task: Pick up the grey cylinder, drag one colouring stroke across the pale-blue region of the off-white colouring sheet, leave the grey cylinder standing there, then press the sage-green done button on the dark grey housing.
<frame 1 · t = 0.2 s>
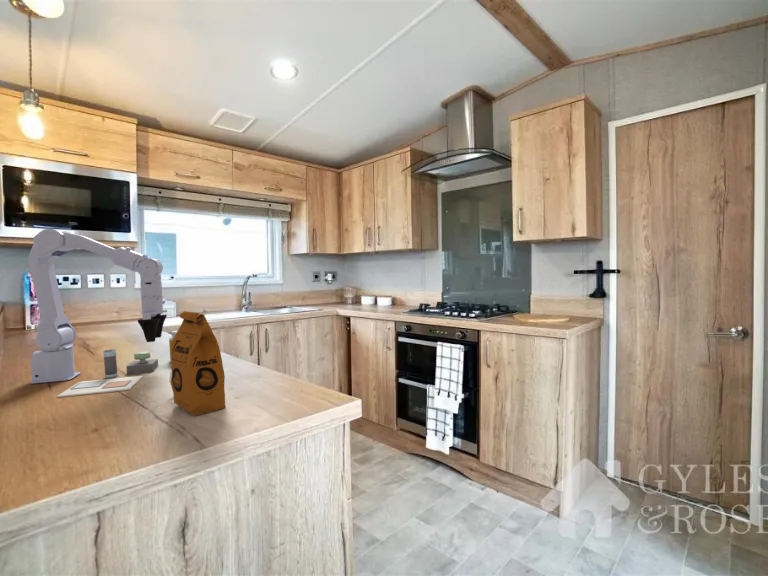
hand: (154, 339, 123), 10 cm above the counter, tool pointing down, fingers open, 7 cm apart
cup: (191, 391, 102), on the counter
colouring sheet: (103, 386, 108), on the counter
grey cylinder: (111, 376, 117), on the counter
coffee package: (200, 408, 90), on the counter
button housing: (143, 369, 124), on the counter
done button: (142, 359, 124), point 3 cm above the counter, slide at 0.0 cm
supplement bottle: (179, 360, 137), on the counter
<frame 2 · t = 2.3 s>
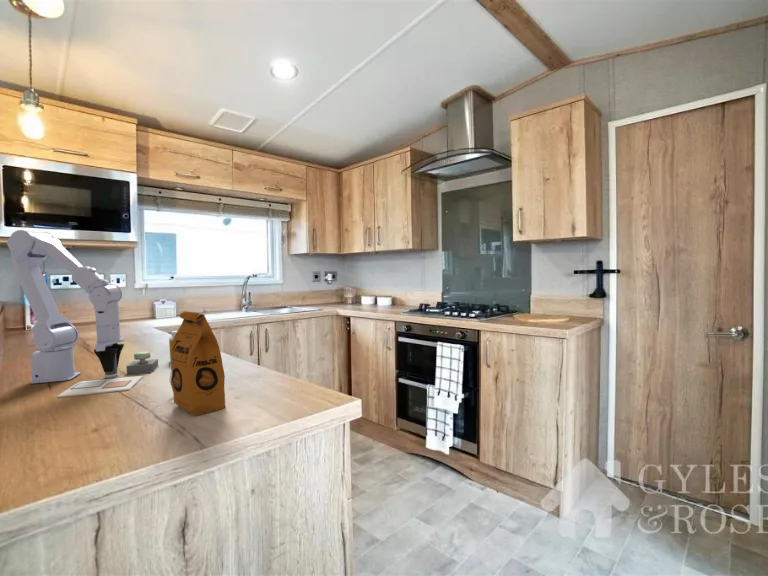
hand: (110, 370, 117), 2 cm above the counter, tool pointing down, fingers closed on grey cylinder, 3 cm apart
grey cylinder: (111, 376, 117), on the counter, touching gripper
everything else where it was.
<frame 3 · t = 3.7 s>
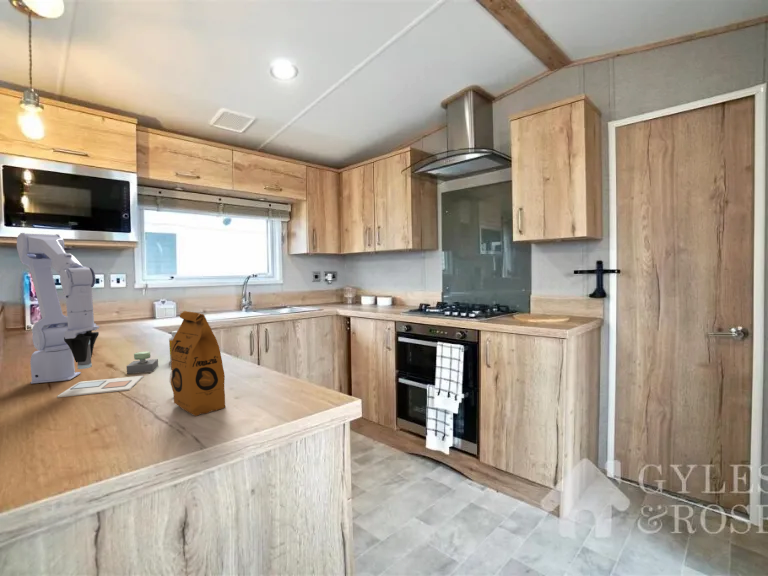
hand: (83, 360, 107), 7 cm above the counter, tool pointing down, fingers closed on grey cylinder, 3 cm apart
grey cylinder: (84, 367, 108), point 5 cm above the counter, touching gripper
everything else where it was.
when the fingers open (3 cm above the counter, at t = 5.4 s): grey cylinder stays where it is, resting on colouring sheet.
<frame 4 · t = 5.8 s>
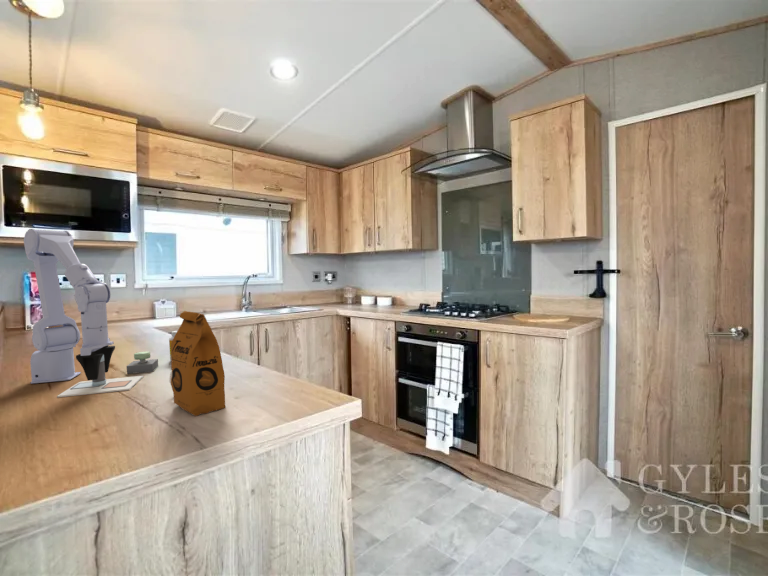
hand: (98, 376, 108), 3 cm above the counter, tool pointing down, fingers open, 7 cm apart
grey cylinder: (99, 384, 108), point 1 cm above the counter, touching colouring sheet
everything else where it was.
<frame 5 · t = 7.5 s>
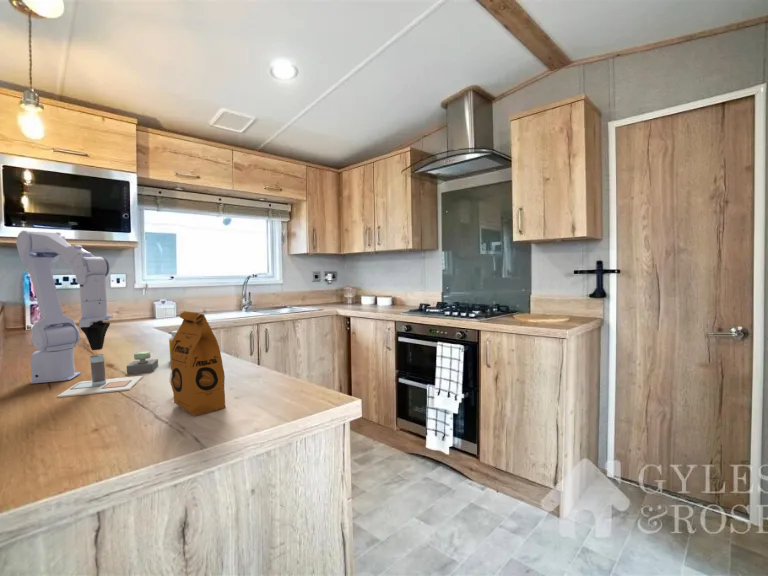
hand: (97, 349, 108), 10 cm above the counter, tool pointing down, fingers closed
nothing on the counter moved.
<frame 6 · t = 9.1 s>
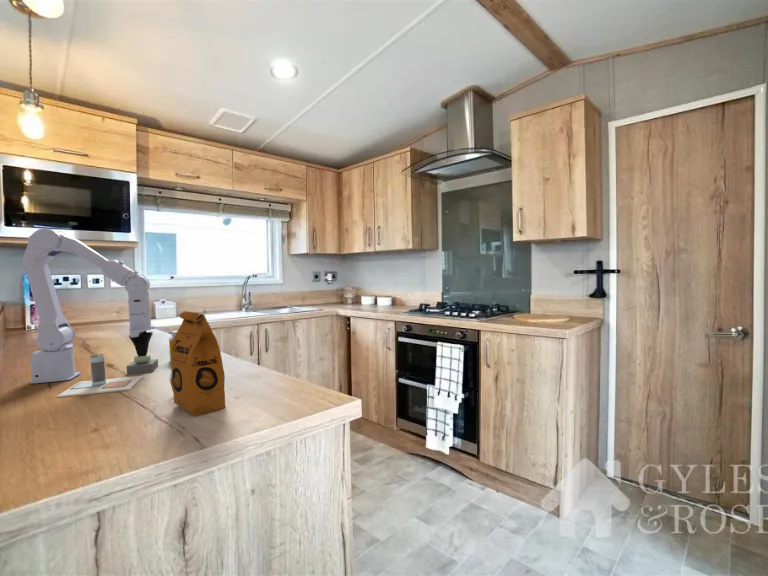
hand: (142, 355, 124), 4 cm above the counter, tool pointing down, fingers closed, pressing on done button
done button: (142, 362, 124), point 3 cm above the counter, slide at 0.9 cm, touching gripper
everything else where it was.
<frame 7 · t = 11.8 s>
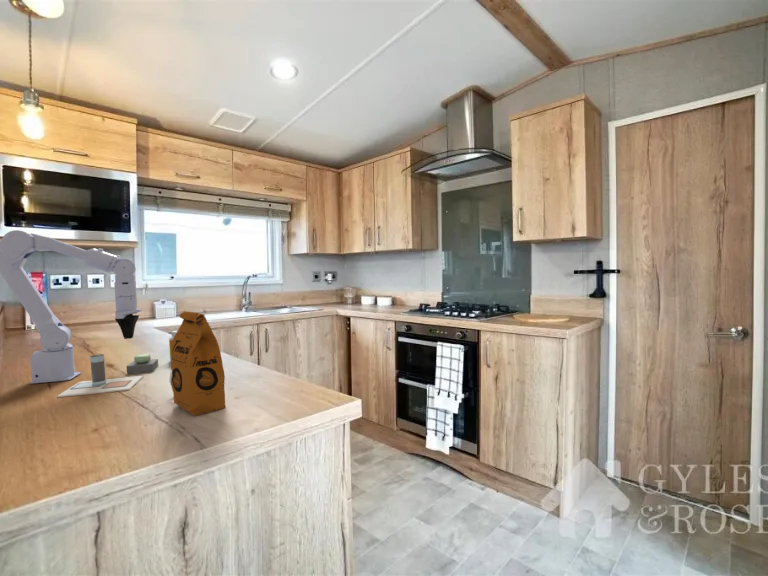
hand: (128, 338, 126), 10 cm above the counter, tool pointing down, fingers closed
done button: (142, 362, 124), point 2 cm above the counter, slide at 0.9 cm
everything else where it was.
at the end: grey cylinder inside the target area (1.7 cm from its centre), point 0.5 cm above the counter; the gripper is holding nothing; done button slide at 0.9 cm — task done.
